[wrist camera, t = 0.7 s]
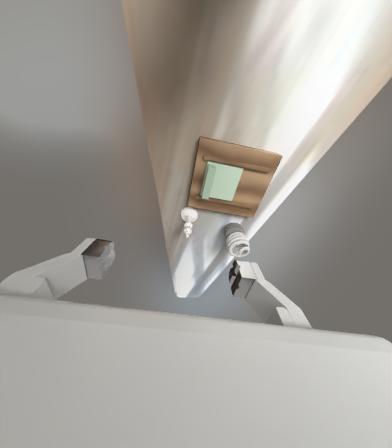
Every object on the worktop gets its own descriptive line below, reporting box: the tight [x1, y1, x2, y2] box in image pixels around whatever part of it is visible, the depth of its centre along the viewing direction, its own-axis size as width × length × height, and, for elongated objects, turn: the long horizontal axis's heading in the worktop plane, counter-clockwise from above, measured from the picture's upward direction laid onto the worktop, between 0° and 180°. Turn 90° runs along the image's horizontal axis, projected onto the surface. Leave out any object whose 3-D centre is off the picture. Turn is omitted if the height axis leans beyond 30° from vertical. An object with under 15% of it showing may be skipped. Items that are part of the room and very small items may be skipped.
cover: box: [200, 161, 243, 201], centre depth 35 cm, size 8×8×3 cm
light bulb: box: [224, 223, 250, 257], centre depth 42 cm, size 6×6×12 cm
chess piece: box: [181, 207, 198, 238], centre depth 41 cm, size 5×5×10 cm
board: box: [188, 136, 282, 218], centre depth 38 cm, size 16×18×3 cm
